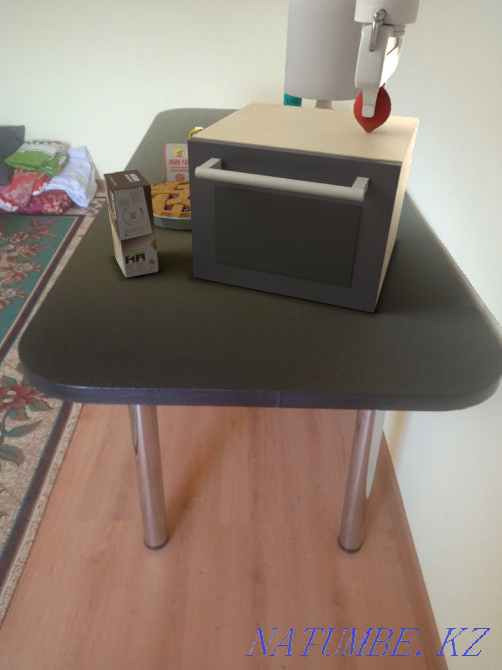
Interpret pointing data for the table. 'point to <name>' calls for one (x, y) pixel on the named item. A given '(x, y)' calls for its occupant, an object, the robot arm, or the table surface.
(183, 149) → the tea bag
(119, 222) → the coffee box
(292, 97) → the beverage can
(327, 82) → the lamp
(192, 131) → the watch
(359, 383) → the table surface
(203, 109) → the table surface
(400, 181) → the oven
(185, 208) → the pie
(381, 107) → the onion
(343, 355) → the table surface
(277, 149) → the oven door
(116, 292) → the table surface
